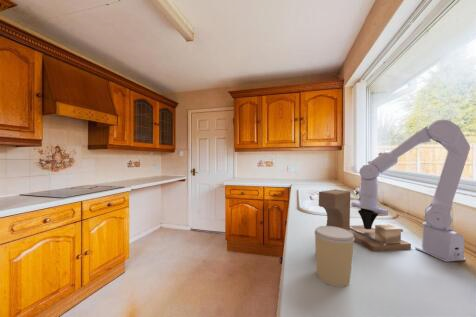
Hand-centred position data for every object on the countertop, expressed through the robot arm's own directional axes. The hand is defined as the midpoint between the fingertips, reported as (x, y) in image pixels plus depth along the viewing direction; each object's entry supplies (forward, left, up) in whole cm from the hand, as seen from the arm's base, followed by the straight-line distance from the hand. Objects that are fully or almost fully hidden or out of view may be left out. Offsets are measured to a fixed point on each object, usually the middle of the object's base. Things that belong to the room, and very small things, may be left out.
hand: (367, 228), depth 82 cm
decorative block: (-10, +22, -3) cm, 24 cm away
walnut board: (-2, +1, -3) cm, 4 cm away
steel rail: (-2, +4, -1) cm, 5 cm away
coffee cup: (-24, +32, -3) cm, 40 cm away
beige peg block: (-9, -2, -1) cm, 9 cm away
